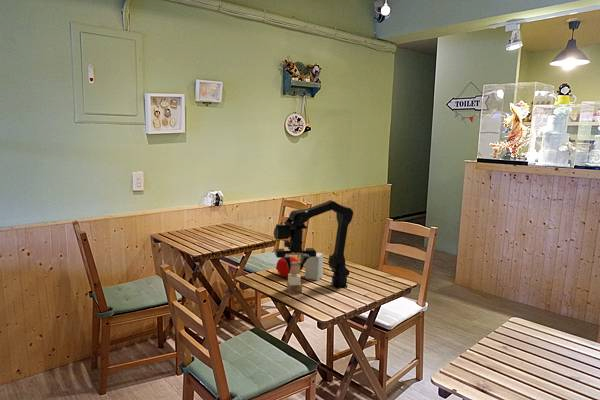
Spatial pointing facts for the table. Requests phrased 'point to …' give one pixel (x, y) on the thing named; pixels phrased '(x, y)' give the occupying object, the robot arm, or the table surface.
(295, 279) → the cream block
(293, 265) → the brown rounded lump
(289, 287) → the walnut base block
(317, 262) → the supplement box
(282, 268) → the tomato
